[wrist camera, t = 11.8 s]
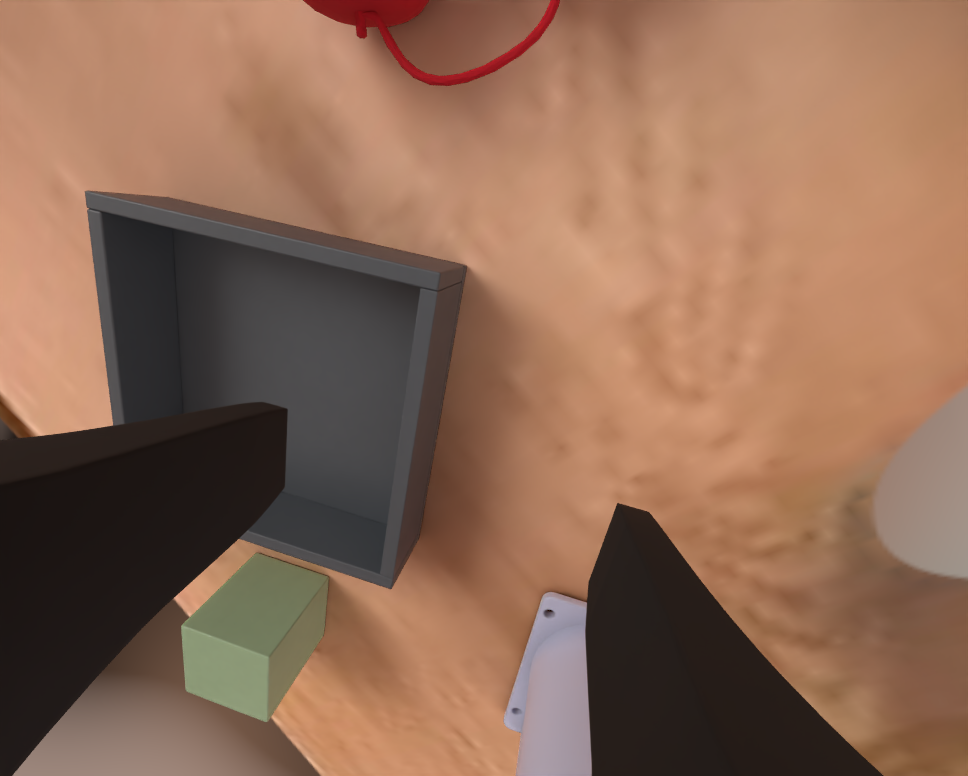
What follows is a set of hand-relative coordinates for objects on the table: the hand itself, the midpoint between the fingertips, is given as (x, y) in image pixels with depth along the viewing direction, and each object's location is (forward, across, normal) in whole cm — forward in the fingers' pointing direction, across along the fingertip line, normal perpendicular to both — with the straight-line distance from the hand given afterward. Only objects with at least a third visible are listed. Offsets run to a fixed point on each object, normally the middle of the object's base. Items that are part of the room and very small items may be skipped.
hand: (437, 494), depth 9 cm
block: (+9, +9, +16) cm, 21 cm away
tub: (+9, +9, +3) cm, 13 cm away
